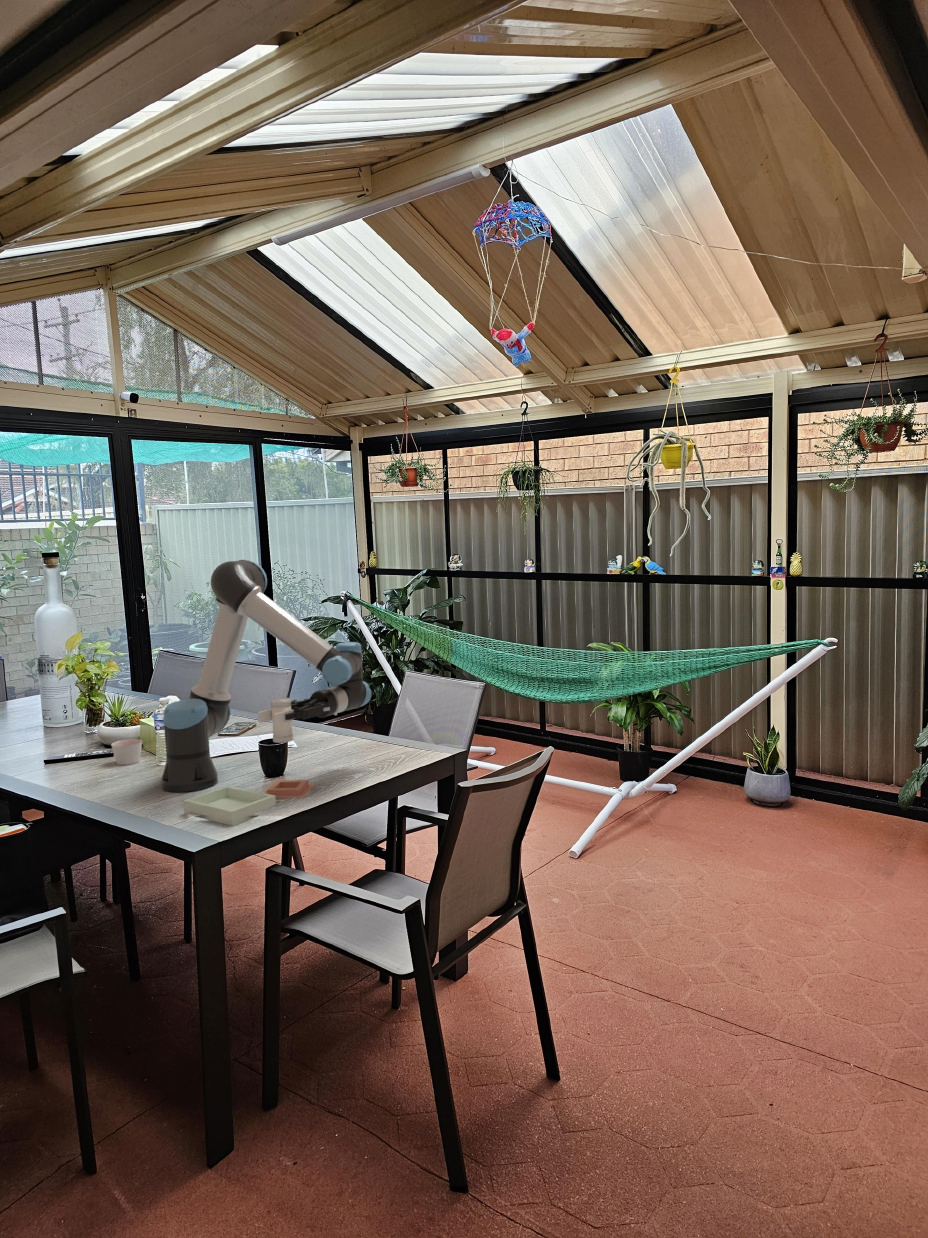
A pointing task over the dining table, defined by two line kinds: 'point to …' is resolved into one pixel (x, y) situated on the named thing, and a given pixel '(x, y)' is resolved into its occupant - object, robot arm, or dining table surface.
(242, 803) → the tray
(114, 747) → the pink cup
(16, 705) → the dining table surface
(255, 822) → the dining table surface
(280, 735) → the cylinder
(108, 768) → the dining table surface
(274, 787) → the orange square coaster
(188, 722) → the robot arm
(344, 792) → the dining table surface
